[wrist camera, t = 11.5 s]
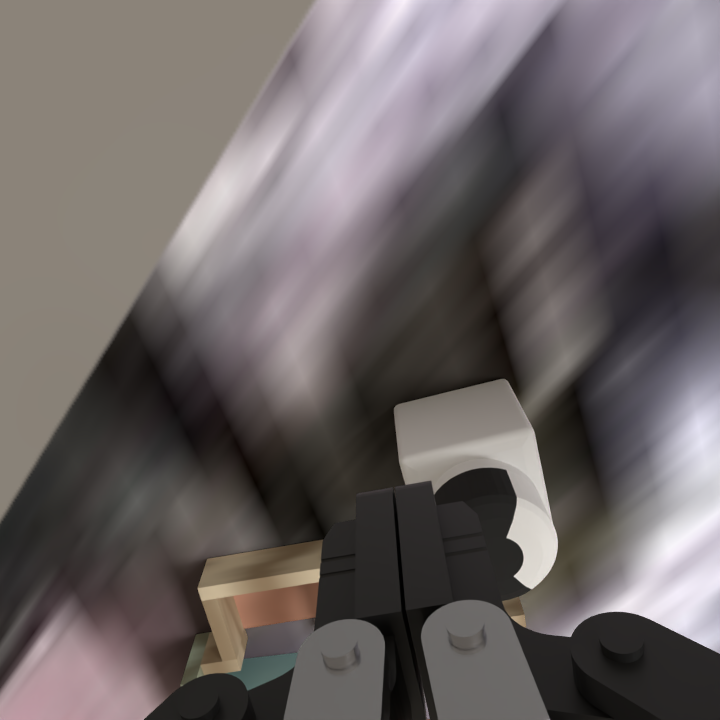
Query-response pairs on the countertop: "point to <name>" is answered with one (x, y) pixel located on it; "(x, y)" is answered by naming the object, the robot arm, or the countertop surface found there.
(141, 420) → the countertop surface
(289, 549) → the beige wooden flat frame
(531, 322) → the countertop surface
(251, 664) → the teal block
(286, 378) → the countertop surface
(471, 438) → the medicine bottle
